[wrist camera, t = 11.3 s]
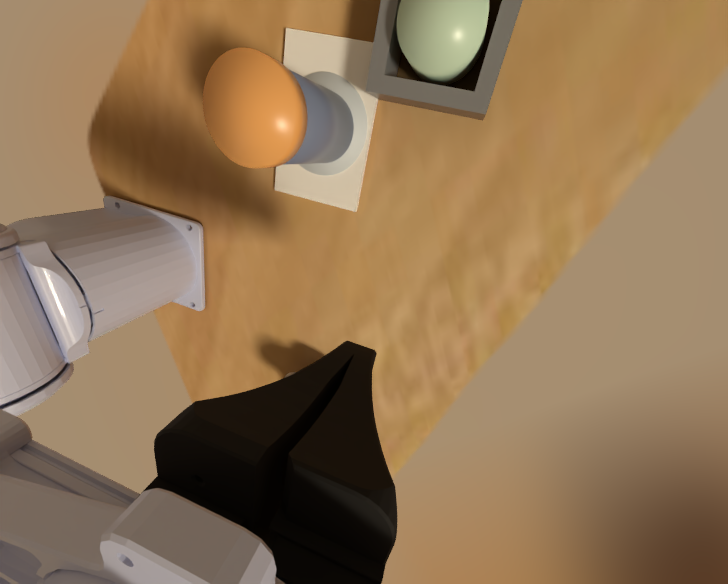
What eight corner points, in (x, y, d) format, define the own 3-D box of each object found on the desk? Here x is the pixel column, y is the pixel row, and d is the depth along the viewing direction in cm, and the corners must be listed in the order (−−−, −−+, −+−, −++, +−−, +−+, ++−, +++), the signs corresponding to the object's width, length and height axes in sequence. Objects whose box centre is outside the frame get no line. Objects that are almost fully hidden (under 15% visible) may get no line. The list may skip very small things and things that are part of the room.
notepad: (276, 189, 22) (273, 190, 22) (288, 29, 18) (285, 27, 18) (357, 211, 21) (355, 212, 21) (388, 46, 17) (386, 43, 17)
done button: (399, 78, 17) (387, 64, 14) (418, -12, 15) (409, -48, 13) (469, 91, 16) (470, 78, 14) (497, -2, 15) (504, -37, 12)
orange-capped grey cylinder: (289, 158, 21) (206, 159, 14) (293, 83, 19) (198, 42, 12) (350, 170, 20) (292, 176, 13) (359, 91, 18) (298, 53, 11)
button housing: (378, 99, 18) (365, 90, 16) (404, -41, 16) (393, -75, 13) (483, 120, 17) (485, 114, 15) (530, -26, 14) (542, -61, 12)
